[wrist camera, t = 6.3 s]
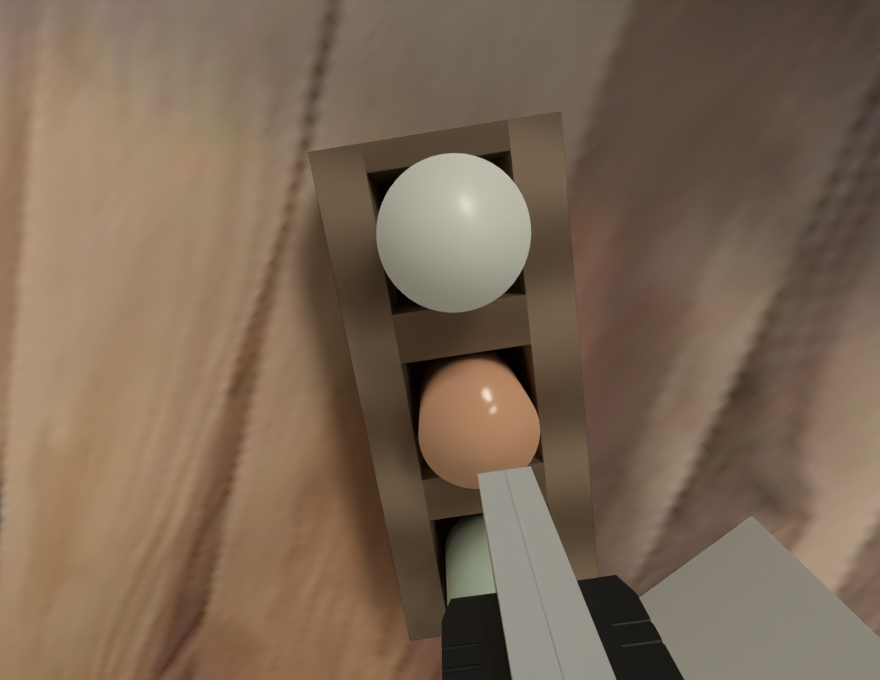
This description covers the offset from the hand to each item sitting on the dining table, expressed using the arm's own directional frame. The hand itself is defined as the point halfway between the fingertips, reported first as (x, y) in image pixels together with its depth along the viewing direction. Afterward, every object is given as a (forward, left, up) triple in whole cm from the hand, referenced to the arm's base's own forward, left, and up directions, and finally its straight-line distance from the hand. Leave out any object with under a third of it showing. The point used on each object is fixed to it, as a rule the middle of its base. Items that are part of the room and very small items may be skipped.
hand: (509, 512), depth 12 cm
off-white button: (-8, 0, -9) cm, 12 cm away
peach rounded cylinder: (0, 0, -11) cm, 11 cm away
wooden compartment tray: (0, 0, -12) cm, 12 cm away
